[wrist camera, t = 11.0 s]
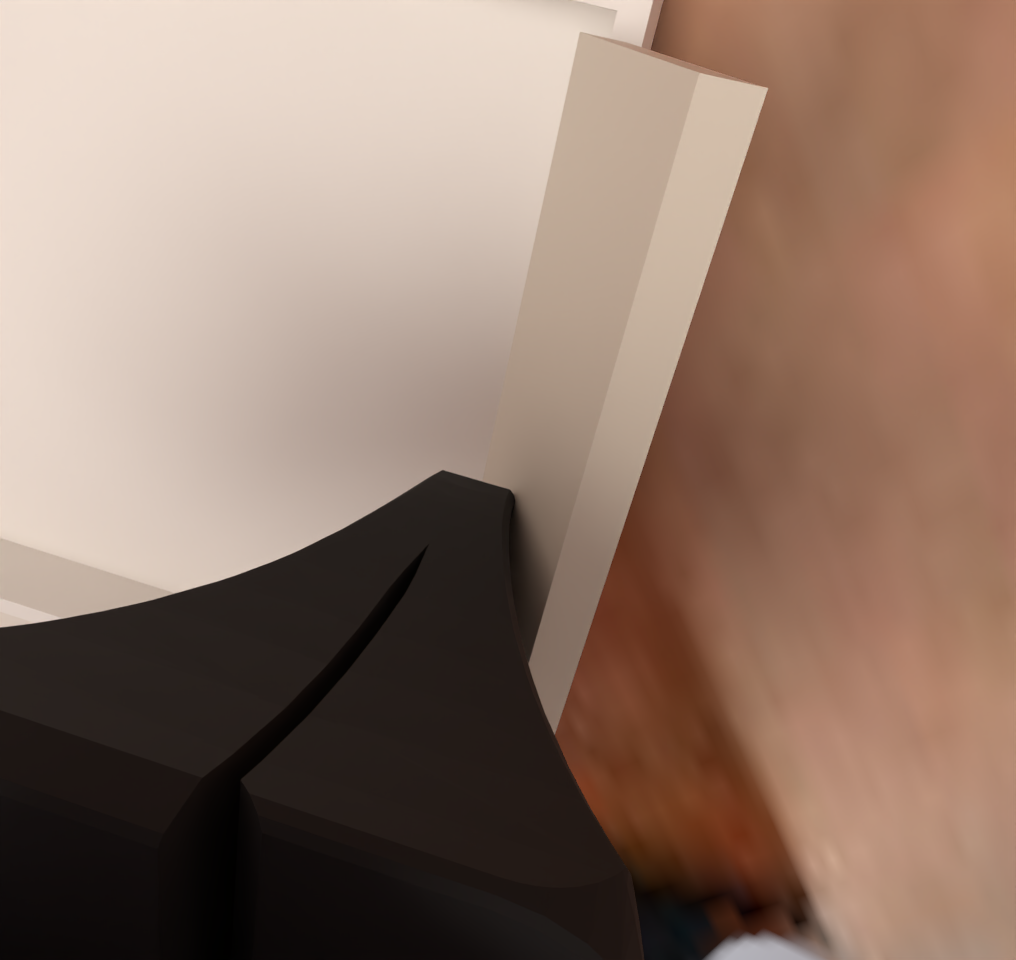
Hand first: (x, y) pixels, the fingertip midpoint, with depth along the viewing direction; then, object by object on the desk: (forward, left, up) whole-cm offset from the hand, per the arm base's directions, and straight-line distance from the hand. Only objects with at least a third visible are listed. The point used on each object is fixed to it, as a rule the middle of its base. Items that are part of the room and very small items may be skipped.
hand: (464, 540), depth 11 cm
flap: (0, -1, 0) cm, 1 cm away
